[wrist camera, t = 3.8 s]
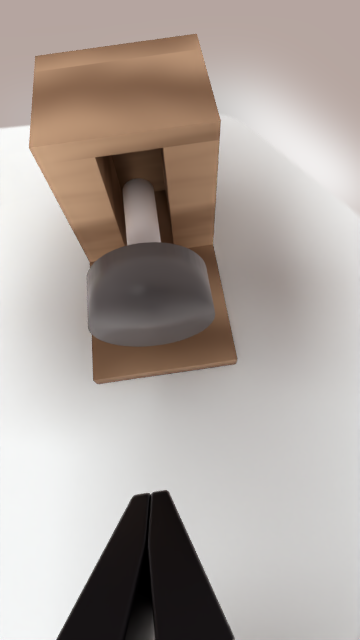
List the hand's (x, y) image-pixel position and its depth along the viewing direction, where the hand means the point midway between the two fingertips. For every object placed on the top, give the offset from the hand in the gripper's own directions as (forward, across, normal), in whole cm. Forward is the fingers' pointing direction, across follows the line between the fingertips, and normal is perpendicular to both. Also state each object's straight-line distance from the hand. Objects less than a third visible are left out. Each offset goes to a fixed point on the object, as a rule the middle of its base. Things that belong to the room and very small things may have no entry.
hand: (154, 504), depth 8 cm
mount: (+19, 0, -2) cm, 19 cm away
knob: (+14, 0, -2) cm, 14 cm away
